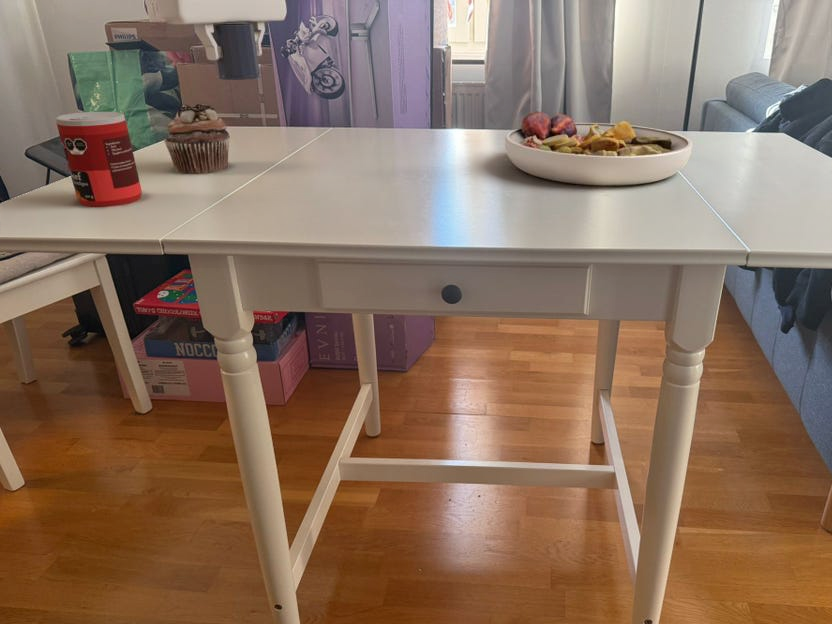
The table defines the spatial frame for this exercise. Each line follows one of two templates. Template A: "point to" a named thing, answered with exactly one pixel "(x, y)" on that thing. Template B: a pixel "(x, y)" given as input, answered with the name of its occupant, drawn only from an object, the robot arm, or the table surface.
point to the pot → (236, 52)
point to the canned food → (100, 158)
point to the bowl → (595, 151)
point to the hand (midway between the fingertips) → (235, 58)
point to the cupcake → (198, 140)
